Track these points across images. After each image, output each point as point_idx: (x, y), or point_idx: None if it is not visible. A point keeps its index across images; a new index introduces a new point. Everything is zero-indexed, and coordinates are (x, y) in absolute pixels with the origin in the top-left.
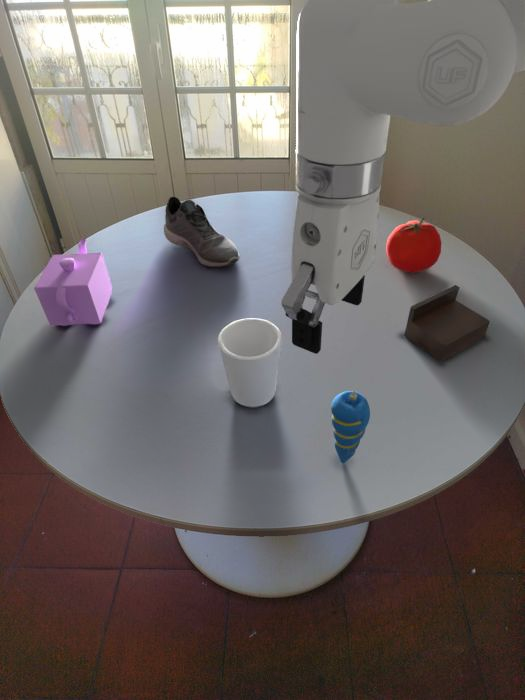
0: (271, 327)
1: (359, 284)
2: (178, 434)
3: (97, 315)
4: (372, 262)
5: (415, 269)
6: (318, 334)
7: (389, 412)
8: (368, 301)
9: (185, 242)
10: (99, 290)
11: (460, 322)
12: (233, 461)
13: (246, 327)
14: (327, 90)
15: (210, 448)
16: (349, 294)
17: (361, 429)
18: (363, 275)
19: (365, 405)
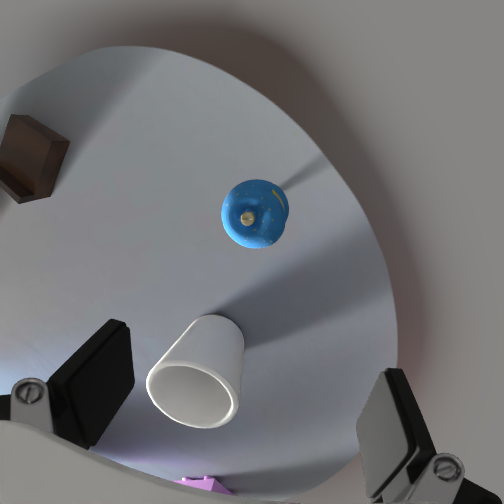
0: (154, 378)
1: (86, 374)
2: (307, 380)
3: (212, 485)
4: (9, 435)
5: None
6: (422, 420)
7: (166, 167)
8: (28, 255)
9: None
10: None
11: (19, 141)
12: (320, 318)
13: (168, 401)
14: None
15: (313, 346)
16: (116, 368)
17: (276, 185)
18: (117, 475)
19: (249, 192)
